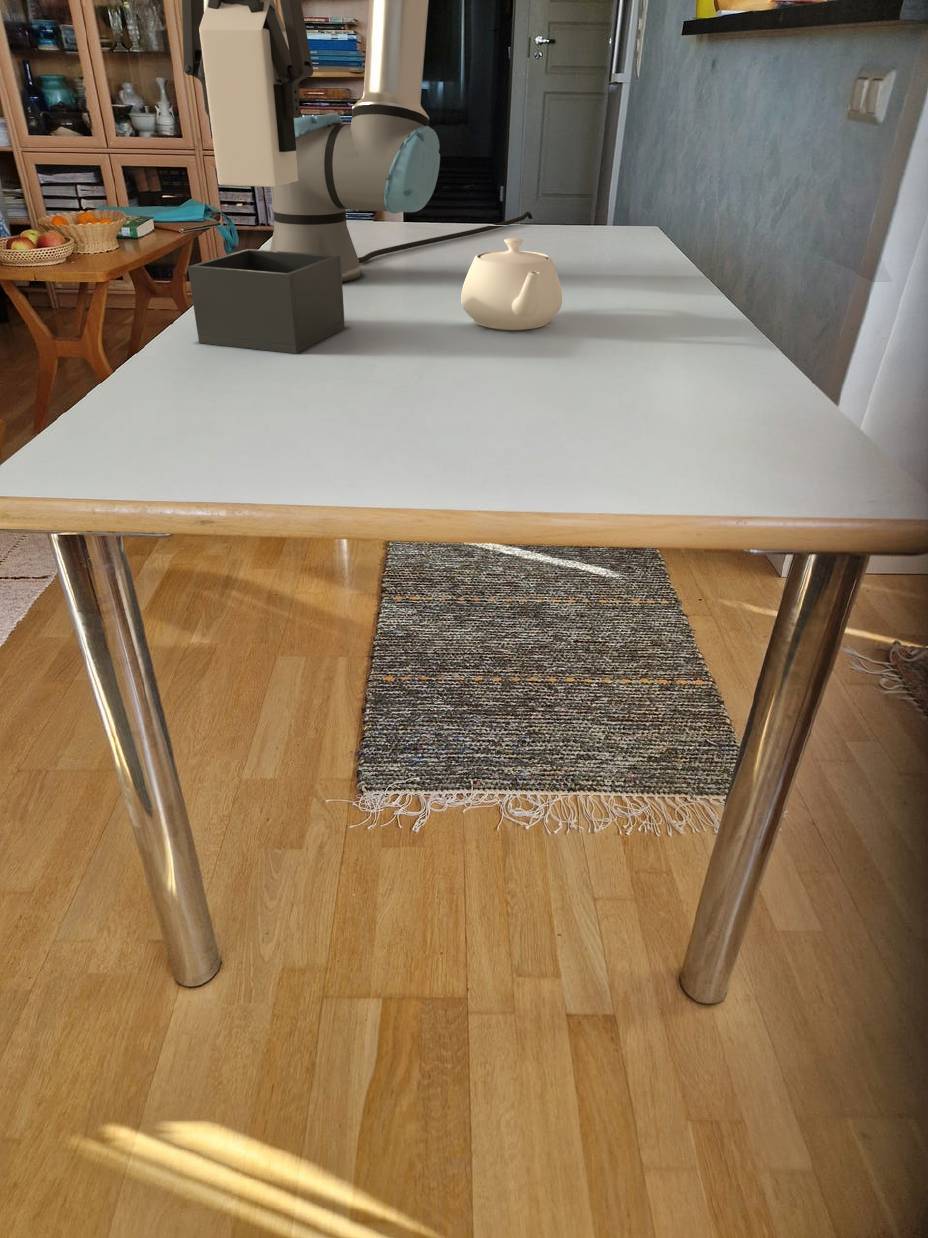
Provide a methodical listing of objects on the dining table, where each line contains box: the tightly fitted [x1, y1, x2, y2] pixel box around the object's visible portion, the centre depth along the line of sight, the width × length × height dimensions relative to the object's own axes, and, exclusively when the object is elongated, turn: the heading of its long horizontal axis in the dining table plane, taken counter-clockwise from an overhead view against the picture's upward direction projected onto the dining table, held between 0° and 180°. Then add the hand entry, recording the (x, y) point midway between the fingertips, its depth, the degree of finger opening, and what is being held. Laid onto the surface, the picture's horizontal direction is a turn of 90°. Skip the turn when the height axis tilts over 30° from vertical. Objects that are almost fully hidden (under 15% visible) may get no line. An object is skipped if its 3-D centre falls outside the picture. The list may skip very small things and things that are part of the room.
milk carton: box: [199, 0, 298, 188], centre depth 96 cm, size 7×7×19 cm
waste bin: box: [187, 248, 346, 355], centre depth 108 cm, size 14×14×9 cm
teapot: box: [460, 237, 563, 331], centre depth 115 cm, size 22×14×11 cm, turn 12°
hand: (255, 149), depth 100 cm, fingers closed on milk carton, 7 cm apart
